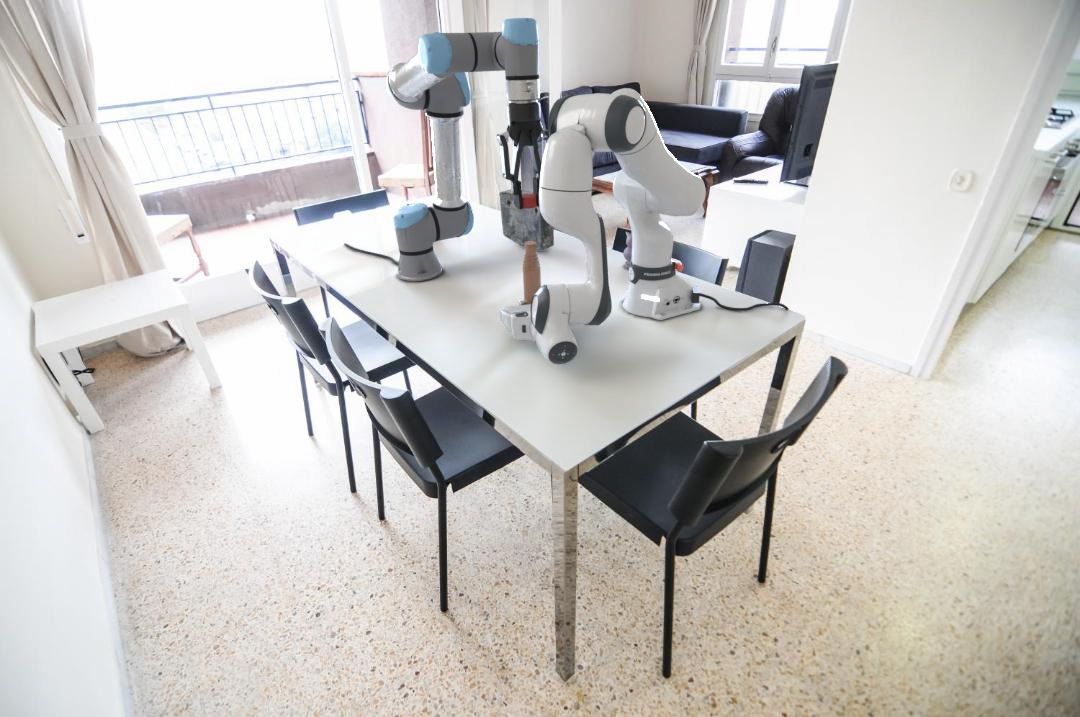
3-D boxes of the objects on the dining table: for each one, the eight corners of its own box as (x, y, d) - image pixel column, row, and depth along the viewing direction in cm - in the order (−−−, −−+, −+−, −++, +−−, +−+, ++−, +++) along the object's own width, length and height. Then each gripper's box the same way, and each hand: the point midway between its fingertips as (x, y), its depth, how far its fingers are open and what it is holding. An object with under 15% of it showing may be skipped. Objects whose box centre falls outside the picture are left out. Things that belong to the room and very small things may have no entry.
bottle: (545, 324, 140) (543, 242, 128) (532, 329, 138) (528, 247, 125) (535, 318, 143) (532, 238, 131) (522, 323, 141) (517, 242, 129)
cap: (534, 203, 126) (534, 192, 124) (538, 207, 122) (538, 196, 121) (517, 205, 125) (517, 194, 124) (521, 209, 121) (521, 198, 120)
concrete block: (559, 252, 190) (558, 199, 179) (540, 257, 185) (538, 203, 175) (520, 236, 208) (517, 187, 198) (502, 240, 204) (498, 190, 194)
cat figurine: (651, 266, 175) (654, 232, 168) (638, 272, 170) (641, 238, 163) (630, 260, 180) (633, 227, 173) (618, 267, 175) (619, 233, 169)
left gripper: (492, 105, 106) (500, 215, 118) (565, 100, 111) (565, 205, 123) (481, 102, 111) (490, 207, 124) (551, 98, 117) (553, 198, 129)
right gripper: (584, 306, 127) (567, 286, 138) (505, 318, 123) (495, 296, 134) (583, 328, 130) (567, 306, 142) (507, 340, 126) (497, 317, 138)
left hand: (528, 206), depth 124 cm, fingers closed on cap, 4 cm apart
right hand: (532, 301), depth 138 cm, fingers closed on bottle, 5 cm apart
